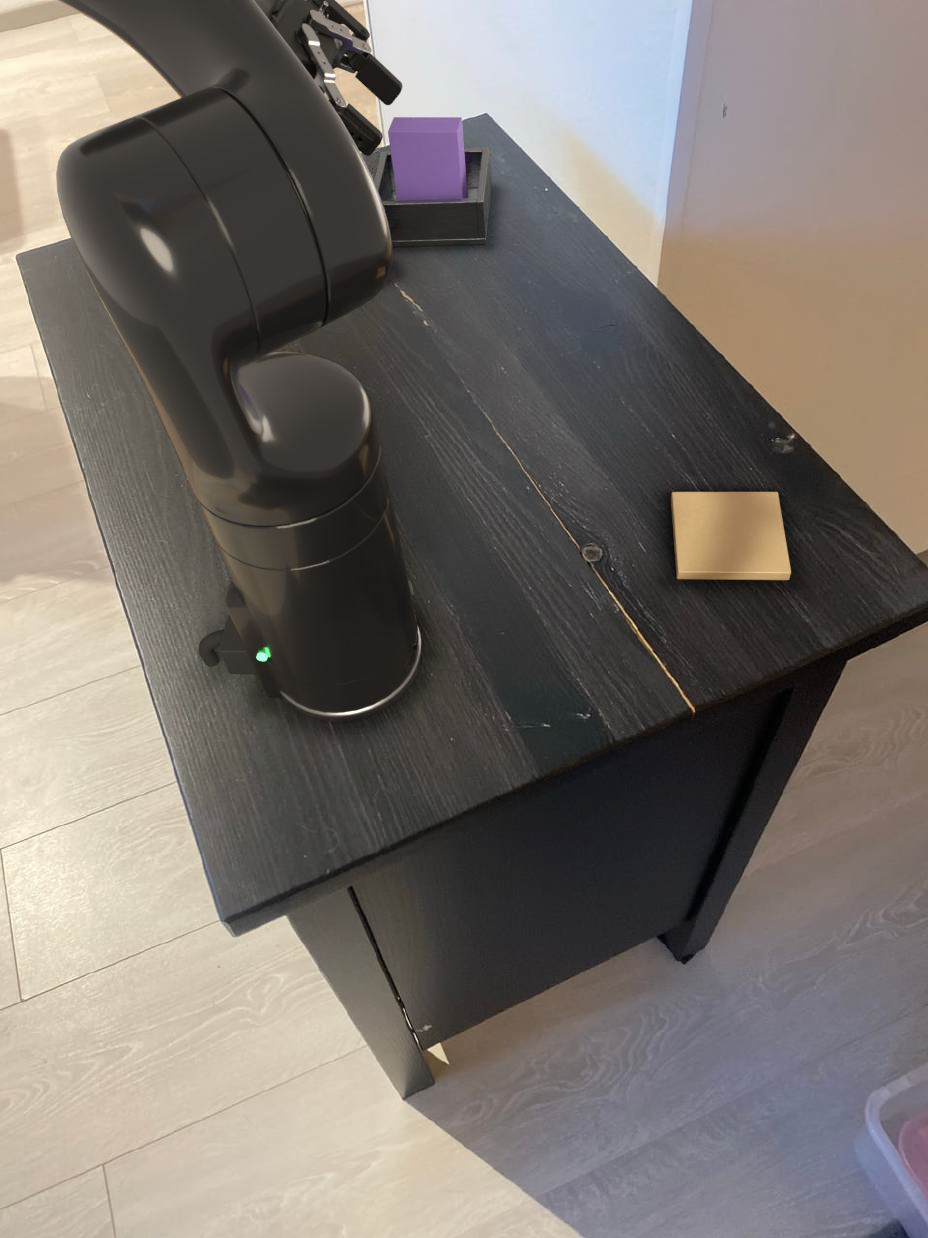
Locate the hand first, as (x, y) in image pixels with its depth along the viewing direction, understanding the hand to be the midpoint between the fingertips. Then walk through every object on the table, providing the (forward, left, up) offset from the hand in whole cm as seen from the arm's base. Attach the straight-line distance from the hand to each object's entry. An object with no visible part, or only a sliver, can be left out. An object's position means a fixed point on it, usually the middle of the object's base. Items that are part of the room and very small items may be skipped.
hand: (386, 121), depth 81 cm
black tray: (+3, 0, -9) cm, 9 cm away
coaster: (+26, -39, -9) cm, 48 cm away
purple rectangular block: (+3, 0, -8) cm, 9 cm away
